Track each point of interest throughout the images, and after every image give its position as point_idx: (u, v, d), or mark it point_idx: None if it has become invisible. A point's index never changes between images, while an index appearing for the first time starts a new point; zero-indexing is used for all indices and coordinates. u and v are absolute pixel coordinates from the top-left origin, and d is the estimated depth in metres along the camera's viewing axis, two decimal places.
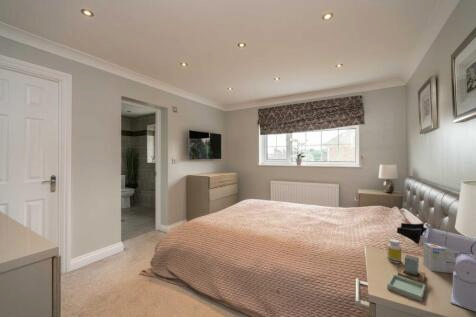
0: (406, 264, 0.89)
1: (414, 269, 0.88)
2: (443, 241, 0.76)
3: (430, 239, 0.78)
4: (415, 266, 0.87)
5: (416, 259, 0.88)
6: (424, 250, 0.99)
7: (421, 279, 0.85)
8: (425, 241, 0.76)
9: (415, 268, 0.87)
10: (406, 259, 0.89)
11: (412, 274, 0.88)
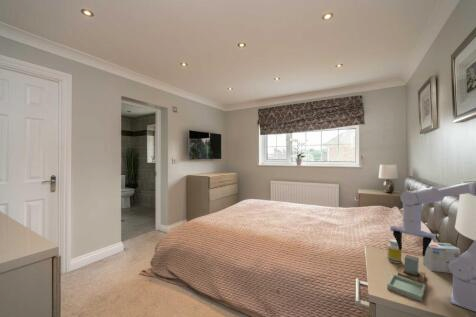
0: (406, 264, 0.89)
1: (414, 269, 0.88)
2: None
3: (403, 227, 0.91)
4: (415, 266, 0.87)
5: (416, 259, 0.88)
6: None
7: (421, 279, 0.85)
8: None
9: (415, 268, 0.87)
10: (406, 259, 0.89)
11: (412, 274, 0.88)
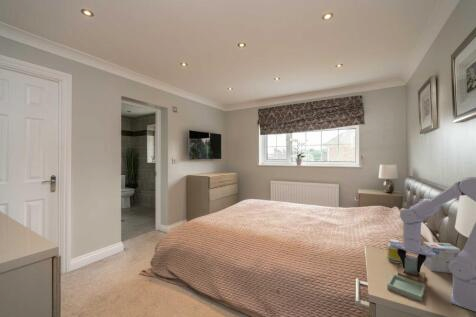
0: (406, 264, 0.89)
1: (414, 269, 0.88)
2: (403, 236, 0.92)
3: (403, 245, 0.91)
4: (415, 266, 0.87)
5: (416, 259, 0.88)
6: None
7: (421, 279, 0.85)
8: None
9: (415, 268, 0.87)
10: (406, 259, 0.89)
11: (412, 274, 0.88)
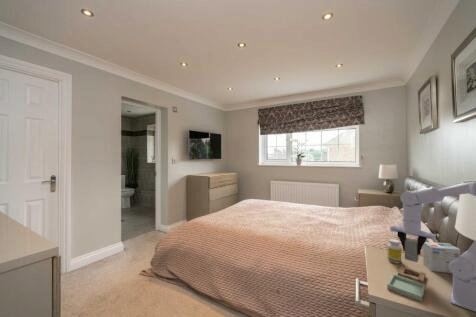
0: (406, 246, 0.89)
1: (414, 251, 0.87)
2: (403, 219, 0.91)
3: (403, 227, 0.91)
4: (415, 248, 0.87)
5: (416, 241, 0.88)
6: (424, 250, 0.99)
7: (421, 279, 0.85)
8: None
9: (415, 250, 0.87)
10: (406, 241, 0.89)
11: (412, 256, 0.88)
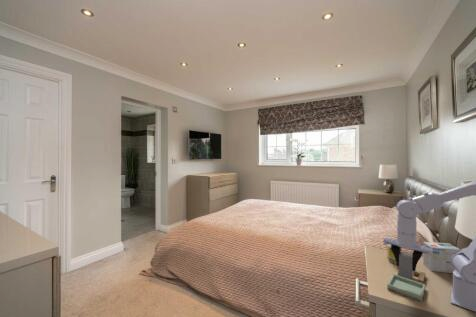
0: (400, 261, 0.81)
1: (409, 267, 0.80)
2: None
3: (397, 240, 0.83)
4: (410, 264, 0.79)
5: (411, 256, 0.80)
6: None
7: (421, 279, 0.85)
8: None
9: (410, 266, 0.79)
10: (400, 256, 0.81)
11: (407, 272, 0.80)
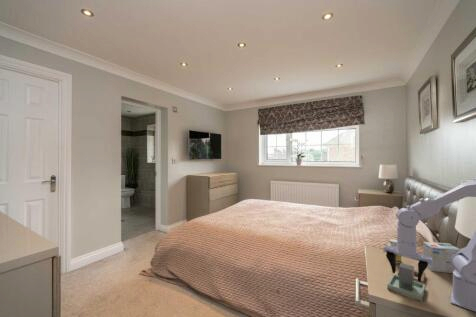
0: (400, 273, 0.81)
1: (409, 279, 0.80)
2: None
3: (397, 248, 0.83)
4: (410, 276, 0.79)
5: (411, 268, 0.80)
6: (424, 250, 0.99)
7: (421, 279, 0.85)
8: None
9: (410, 278, 0.79)
10: (400, 268, 0.81)
11: (407, 285, 0.80)
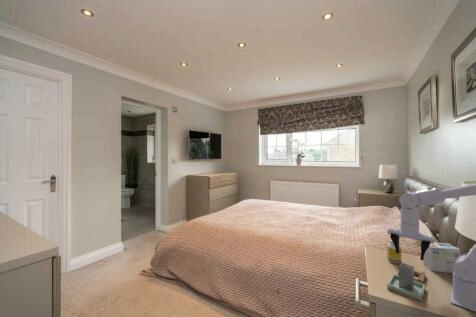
0: (400, 273, 0.81)
1: (409, 279, 0.80)
2: (401, 222, 0.88)
3: (400, 230, 0.88)
4: (410, 276, 0.79)
5: (411, 268, 0.80)
6: None
7: (421, 279, 0.85)
8: None
9: (410, 278, 0.79)
10: (400, 268, 0.81)
11: (407, 285, 0.80)
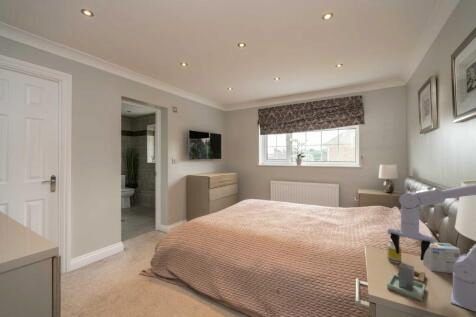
0: (400, 273, 0.81)
1: (409, 279, 0.80)
2: None
3: (400, 230, 0.88)
4: (410, 276, 0.79)
5: (411, 268, 0.80)
6: None
7: (421, 279, 0.85)
8: None
9: (410, 278, 0.79)
10: (400, 268, 0.81)
11: (407, 285, 0.80)
